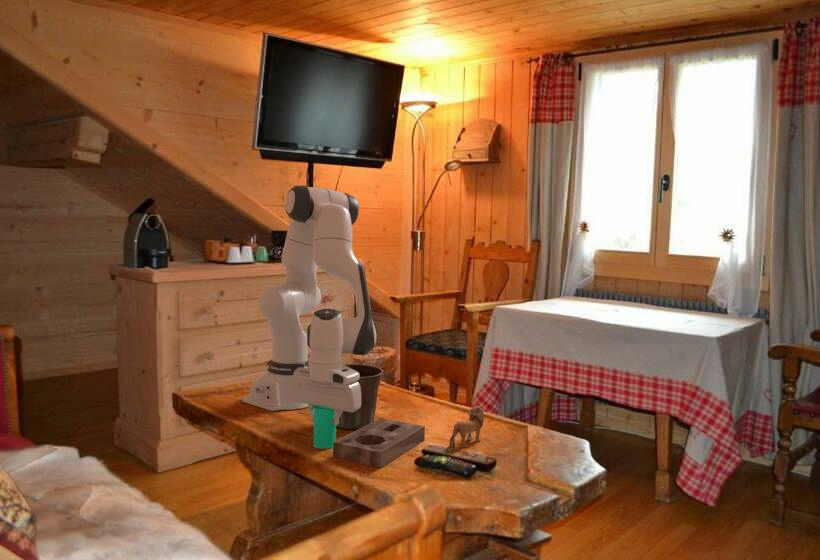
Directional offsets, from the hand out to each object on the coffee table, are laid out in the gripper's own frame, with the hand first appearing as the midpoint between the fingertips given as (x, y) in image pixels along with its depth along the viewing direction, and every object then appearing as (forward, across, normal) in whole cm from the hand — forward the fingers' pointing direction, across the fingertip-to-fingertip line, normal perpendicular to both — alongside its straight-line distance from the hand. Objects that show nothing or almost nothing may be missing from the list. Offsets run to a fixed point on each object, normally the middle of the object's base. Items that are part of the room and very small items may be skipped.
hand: (325, 422), depth 184 cm
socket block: (+6, +14, +5) cm, 16 cm away
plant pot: (+6, -3, +19) cm, 21 cm away
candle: (+6, 0, 0) cm, 6 cm away
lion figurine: (+6, +31, +22) cm, 39 cm away
